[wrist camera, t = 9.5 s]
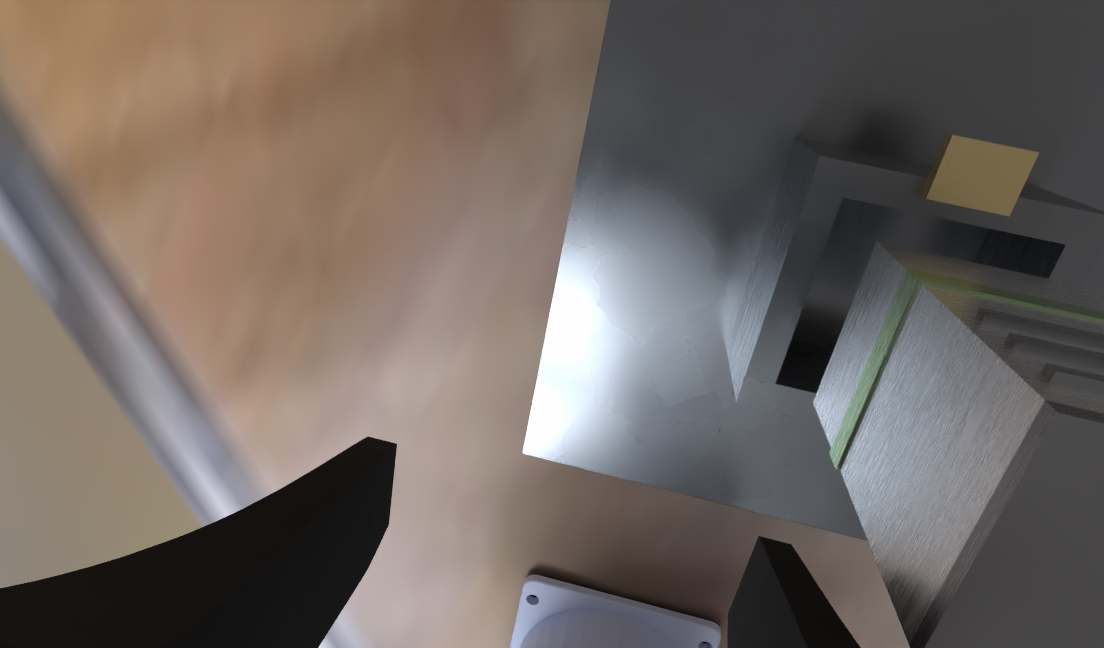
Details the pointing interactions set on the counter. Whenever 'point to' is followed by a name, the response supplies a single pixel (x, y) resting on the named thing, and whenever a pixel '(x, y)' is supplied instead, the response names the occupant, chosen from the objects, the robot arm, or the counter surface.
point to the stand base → (797, 217)
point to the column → (974, 448)
